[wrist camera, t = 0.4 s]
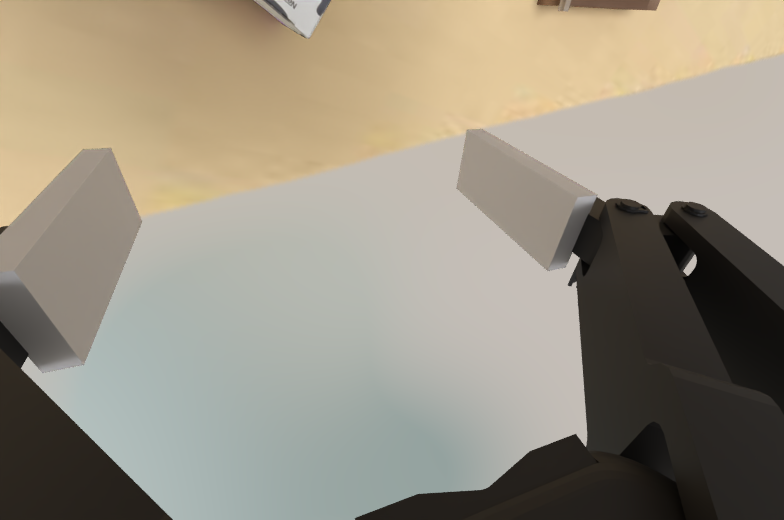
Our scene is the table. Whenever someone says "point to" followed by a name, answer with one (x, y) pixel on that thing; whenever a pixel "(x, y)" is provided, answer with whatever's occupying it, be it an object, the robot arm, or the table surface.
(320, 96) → the table surface
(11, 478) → the robot arm
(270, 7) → the candy box
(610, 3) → the bay
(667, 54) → the table surface
